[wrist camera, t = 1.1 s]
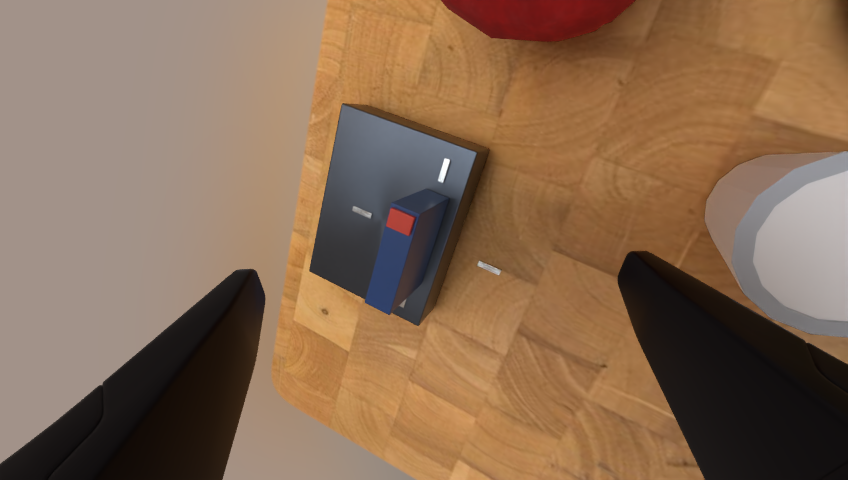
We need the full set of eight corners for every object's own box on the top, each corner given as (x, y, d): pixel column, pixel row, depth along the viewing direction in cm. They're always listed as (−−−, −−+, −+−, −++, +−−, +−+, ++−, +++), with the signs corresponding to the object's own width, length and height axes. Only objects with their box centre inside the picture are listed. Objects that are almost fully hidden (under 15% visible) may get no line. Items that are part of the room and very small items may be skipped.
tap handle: (421, 284, 25) (387, 317, 21) (399, 274, 26) (361, 304, 21) (449, 198, 23) (418, 215, 19) (425, 188, 23) (389, 203, 19)
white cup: (660, 227, 22) (688, 268, 16) (760, 113, 19) (844, 108, 13) (780, 298, 21) (862, 375, 14) (907, 189, 18) (1078, 224, 12)
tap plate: (479, 330, 28) (467, 353, 25) (332, 258, 31) (307, 272, 28) (546, 168, 23) (540, 175, 20) (366, 104, 27) (339, 102, 24)
